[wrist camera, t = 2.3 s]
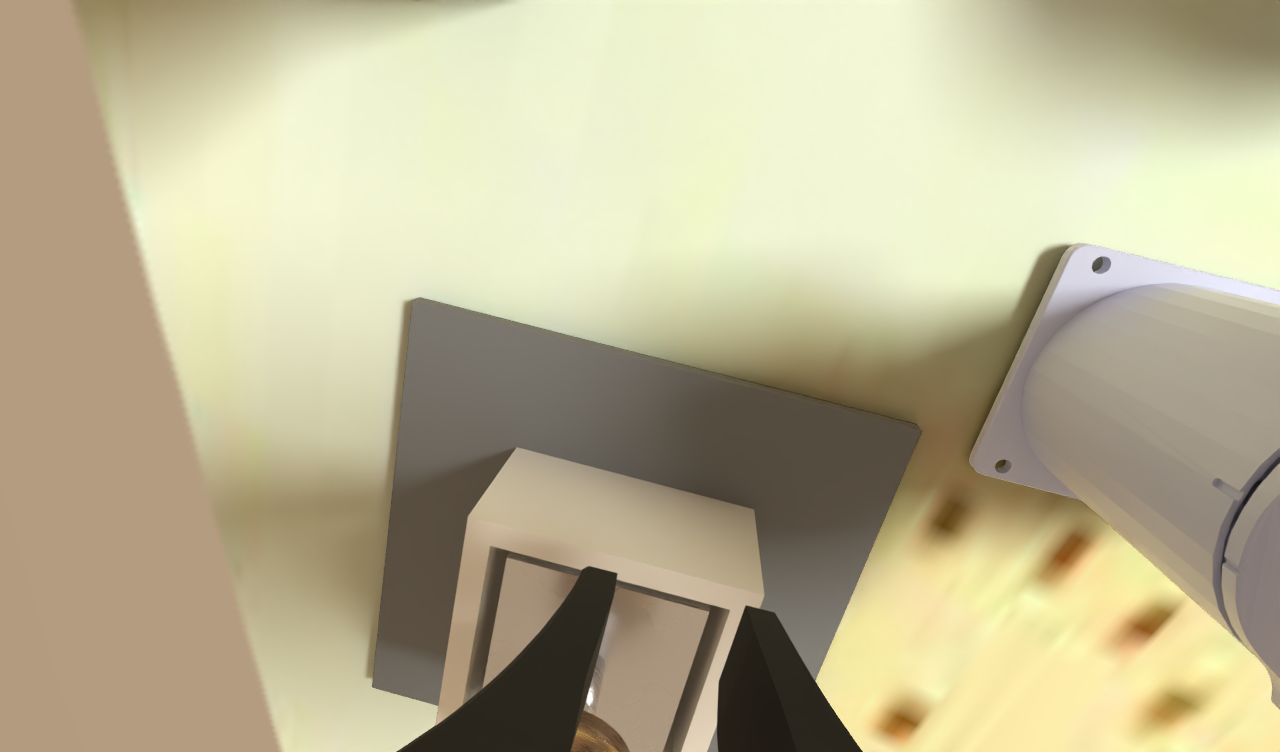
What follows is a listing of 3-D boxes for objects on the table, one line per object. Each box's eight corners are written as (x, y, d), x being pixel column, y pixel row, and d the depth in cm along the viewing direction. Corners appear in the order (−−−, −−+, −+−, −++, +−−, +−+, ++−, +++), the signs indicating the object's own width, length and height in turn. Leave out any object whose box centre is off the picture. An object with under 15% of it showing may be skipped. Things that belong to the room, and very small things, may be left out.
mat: (916, 424, 21) (921, 431, 21) (764, 783, 27) (765, 796, 27) (419, 297, 22) (412, 300, 21) (378, 676, 28) (371, 687, 27)
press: (754, 509, 22) (764, 595, 18) (691, 692, 25) (687, 805, 21) (516, 447, 23) (468, 516, 18) (483, 635, 26) (434, 735, 21)
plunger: (709, 601, 19) (708, 746, 14) (661, 747, 21) (645, 916, 16) (511, 548, 19) (445, 673, 14) (483, 698, 21) (417, 851, 17)
